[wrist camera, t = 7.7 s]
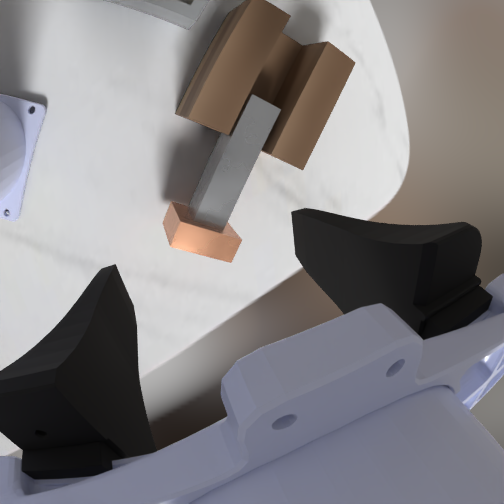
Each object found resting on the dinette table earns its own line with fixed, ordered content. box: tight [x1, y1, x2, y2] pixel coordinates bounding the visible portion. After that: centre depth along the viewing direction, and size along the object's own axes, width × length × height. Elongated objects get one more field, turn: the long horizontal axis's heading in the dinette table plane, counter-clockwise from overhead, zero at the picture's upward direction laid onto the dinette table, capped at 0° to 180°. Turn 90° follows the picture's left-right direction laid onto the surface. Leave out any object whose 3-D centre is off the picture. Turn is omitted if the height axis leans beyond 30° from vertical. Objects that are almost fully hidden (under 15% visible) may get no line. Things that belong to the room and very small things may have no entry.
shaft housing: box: [175, 0, 355, 170], centre depth 17 cm, size 8×8×5 cm
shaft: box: [163, 94, 281, 263], centre depth 19 cm, size 4×10×4 cm, turn 152°
